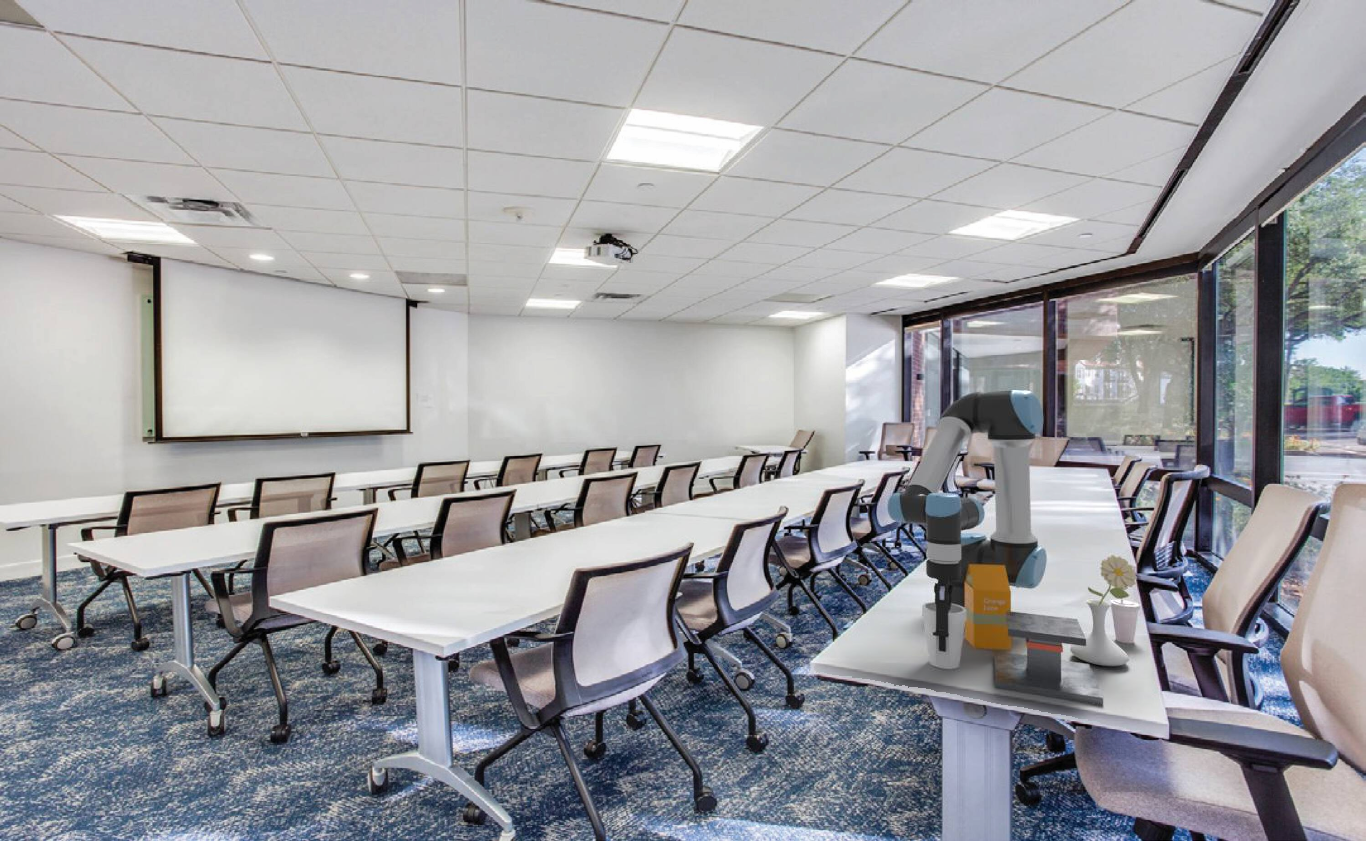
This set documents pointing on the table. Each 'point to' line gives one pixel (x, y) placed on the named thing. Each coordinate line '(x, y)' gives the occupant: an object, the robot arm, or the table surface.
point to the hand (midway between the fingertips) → (944, 656)
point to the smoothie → (1124, 619)
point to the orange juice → (987, 606)
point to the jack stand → (1046, 660)
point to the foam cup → (954, 629)
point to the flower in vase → (1097, 642)
